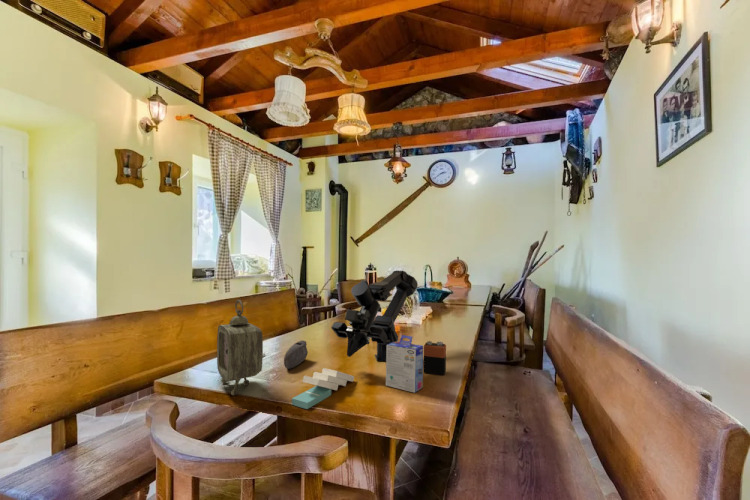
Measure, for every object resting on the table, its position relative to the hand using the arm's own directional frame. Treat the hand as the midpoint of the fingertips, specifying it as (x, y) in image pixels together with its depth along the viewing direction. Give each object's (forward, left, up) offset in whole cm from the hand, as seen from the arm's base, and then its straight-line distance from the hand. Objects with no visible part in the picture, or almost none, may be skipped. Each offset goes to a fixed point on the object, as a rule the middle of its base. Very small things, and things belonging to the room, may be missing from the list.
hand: (348, 356), depth 102 cm
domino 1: (+7, -5, -6) cm, 11 cm away
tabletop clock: (+2, -31, -7) cm, 32 cm away
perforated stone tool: (-16, -18, -7) cm, 25 cm away
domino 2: (+9, -7, -6) cm, 13 cm away
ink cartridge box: (+8, +16, -7) cm, 19 cm away
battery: (-3, +29, -7) cm, 30 cm away
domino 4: (+1, 0, -6) cm, 6 cm away
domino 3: (+4, -3, -6) cm, 8 cm away
